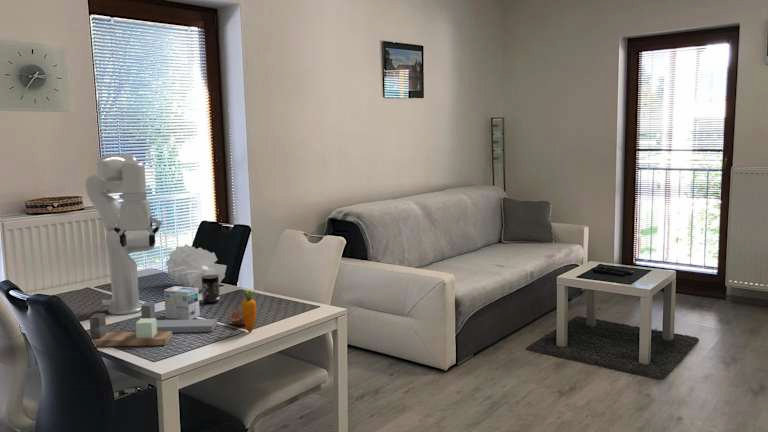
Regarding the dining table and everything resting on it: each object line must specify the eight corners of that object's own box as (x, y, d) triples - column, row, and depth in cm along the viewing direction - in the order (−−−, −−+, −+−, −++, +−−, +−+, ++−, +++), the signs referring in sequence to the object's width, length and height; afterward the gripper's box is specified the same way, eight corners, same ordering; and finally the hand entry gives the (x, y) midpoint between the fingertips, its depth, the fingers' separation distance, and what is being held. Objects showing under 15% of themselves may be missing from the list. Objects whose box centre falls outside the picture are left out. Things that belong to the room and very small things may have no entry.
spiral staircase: (201, 303, 275) (173, 289, 293) (234, 279, 285) (205, 267, 302) (182, 268, 267) (155, 256, 284) (217, 244, 276) (189, 234, 294)
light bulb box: (200, 315, 243) (199, 287, 242) (189, 320, 237) (188, 291, 235) (176, 313, 246) (174, 285, 245) (164, 318, 240) (163, 289, 239)
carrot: (243, 330, 225) (241, 287, 223) (258, 329, 225) (256, 287, 223) (241, 334, 220) (240, 291, 218) (256, 334, 221) (255, 291, 218)
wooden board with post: (89, 346, 209) (87, 319, 208) (99, 338, 217) (97, 312, 216) (165, 345, 210) (163, 317, 209) (172, 337, 218) (170, 310, 217)
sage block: (136, 338, 211) (135, 323, 210) (141, 333, 216) (140, 318, 215) (152, 337, 211) (151, 322, 210) (157, 332, 216) (156, 318, 215)
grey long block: (141, 332, 222) (139, 307, 221) (148, 325, 230) (147, 300, 229) (212, 331, 223) (211, 306, 222) (217, 324, 231) (216, 299, 230)
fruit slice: (254, 325, 231) (253, 311, 230) (237, 329, 226) (236, 315, 226) (242, 320, 237) (242, 306, 236) (225, 324, 232) (225, 310, 232)
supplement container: (206, 299, 265) (205, 274, 264) (222, 299, 265) (221, 274, 263) (199, 304, 259) (198, 278, 257) (216, 304, 258) (215, 278, 256)
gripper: (105, 199, 223) (108, 248, 225) (156, 198, 223) (159, 247, 226) (113, 196, 230) (116, 244, 233) (163, 196, 231) (166, 243, 233)
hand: (137, 245), depth 229 cm, fingers open, 9 cm apart
